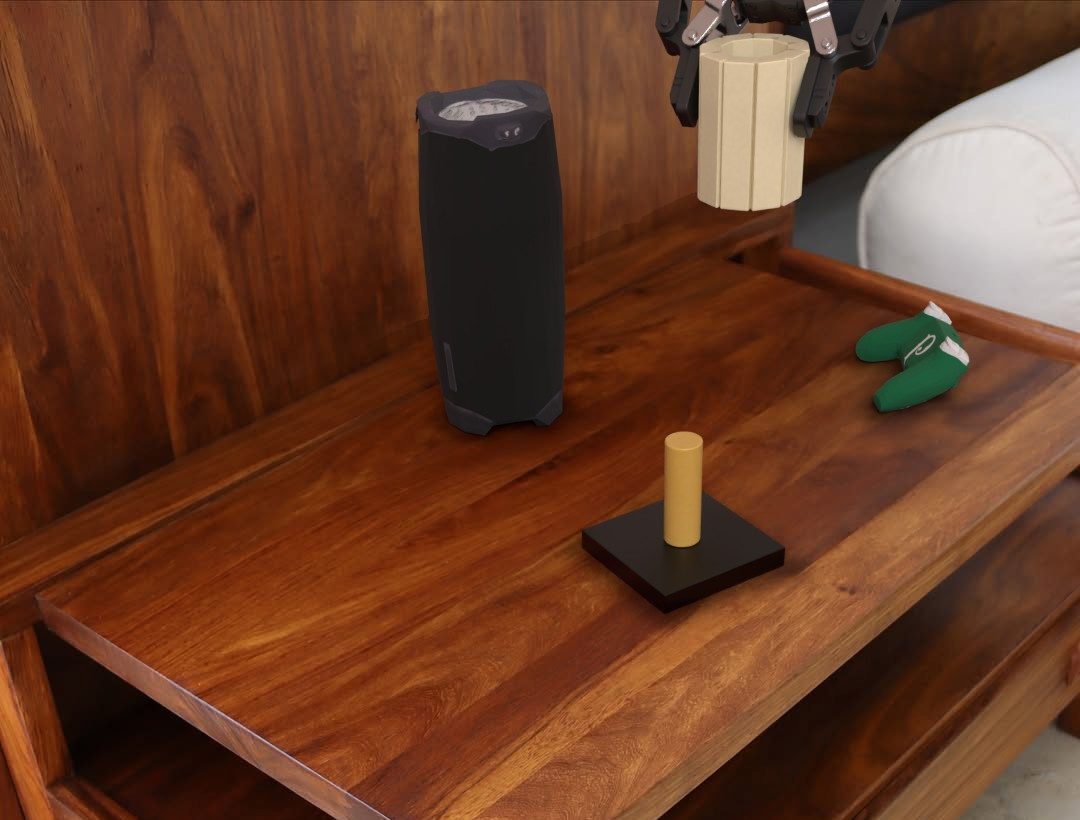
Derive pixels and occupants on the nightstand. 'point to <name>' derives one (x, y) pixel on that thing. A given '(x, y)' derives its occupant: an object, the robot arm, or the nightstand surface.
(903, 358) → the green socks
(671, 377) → the nightstand surface
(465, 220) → the portable speaker
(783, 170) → the cream hollow cylinder
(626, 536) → the stand
